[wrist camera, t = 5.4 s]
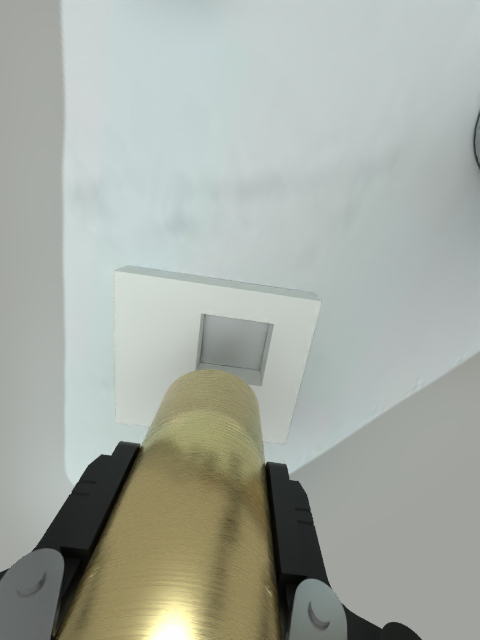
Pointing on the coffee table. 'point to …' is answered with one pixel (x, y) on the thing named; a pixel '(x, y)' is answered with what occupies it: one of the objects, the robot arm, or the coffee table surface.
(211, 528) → the gold metal peg
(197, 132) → the coffee table surface
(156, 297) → the jig
